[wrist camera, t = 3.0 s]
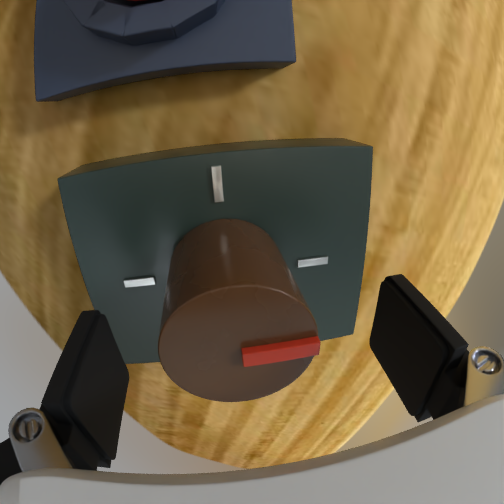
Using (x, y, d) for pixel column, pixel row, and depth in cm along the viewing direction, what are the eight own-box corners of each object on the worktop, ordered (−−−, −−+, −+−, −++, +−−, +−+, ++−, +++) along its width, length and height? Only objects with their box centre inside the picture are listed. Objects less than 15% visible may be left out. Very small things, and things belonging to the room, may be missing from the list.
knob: (180, 322, 14) (177, 414, 9) (160, 225, 12) (137, 302, 7) (281, 309, 15) (315, 396, 10) (281, 212, 12) (328, 279, 8)
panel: (125, 330, 18) (116, 366, 15) (82, 164, 13) (55, 179, 10) (334, 304, 19) (354, 336, 16) (343, 138, 14) (375, 146, 12)
